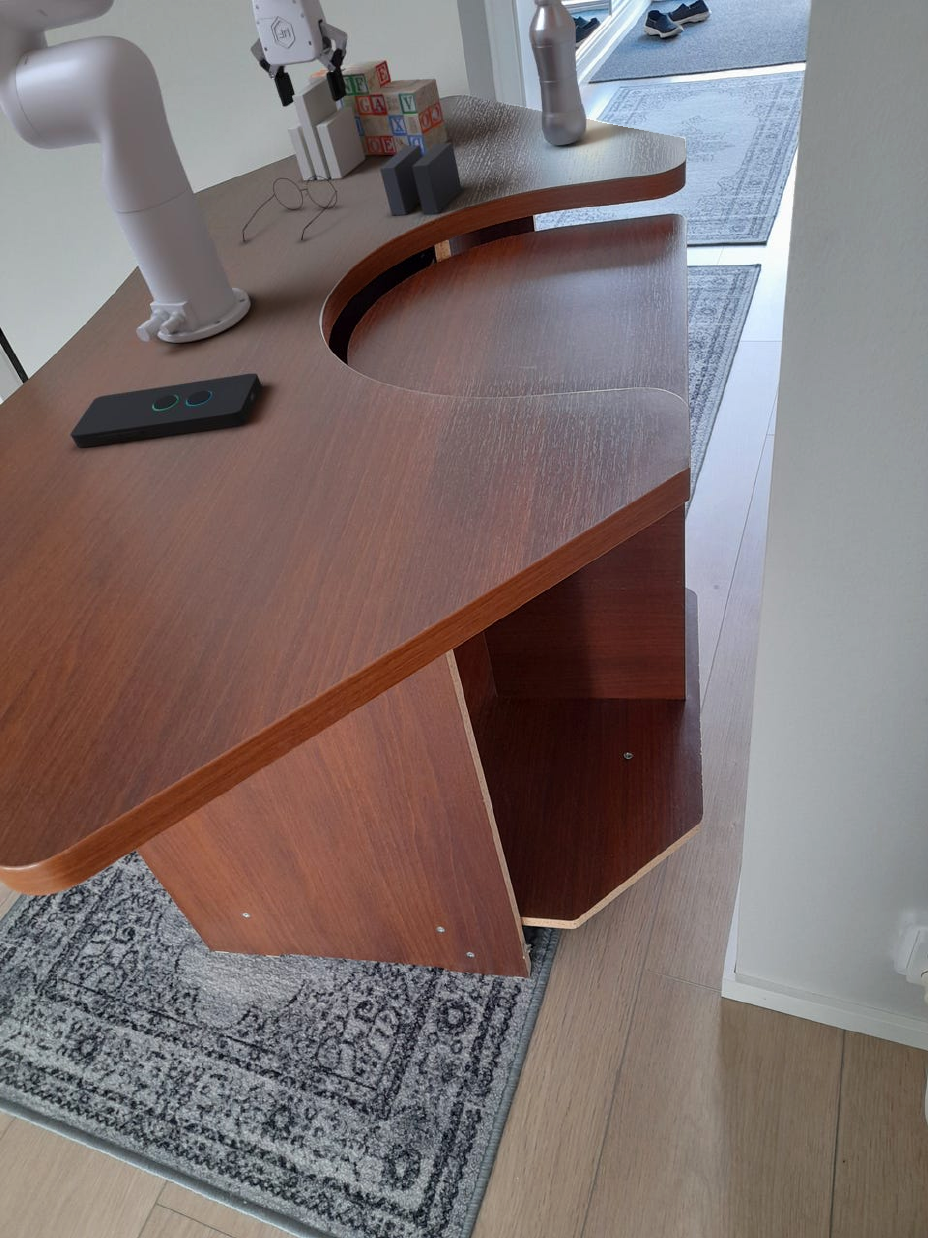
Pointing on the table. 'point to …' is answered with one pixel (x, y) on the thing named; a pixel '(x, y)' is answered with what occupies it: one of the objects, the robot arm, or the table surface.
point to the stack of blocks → (390, 108)
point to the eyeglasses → (299, 207)
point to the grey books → (421, 179)
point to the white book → (315, 120)
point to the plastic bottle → (557, 72)
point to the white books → (331, 144)
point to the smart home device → (168, 410)
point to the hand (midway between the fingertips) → (314, 100)
